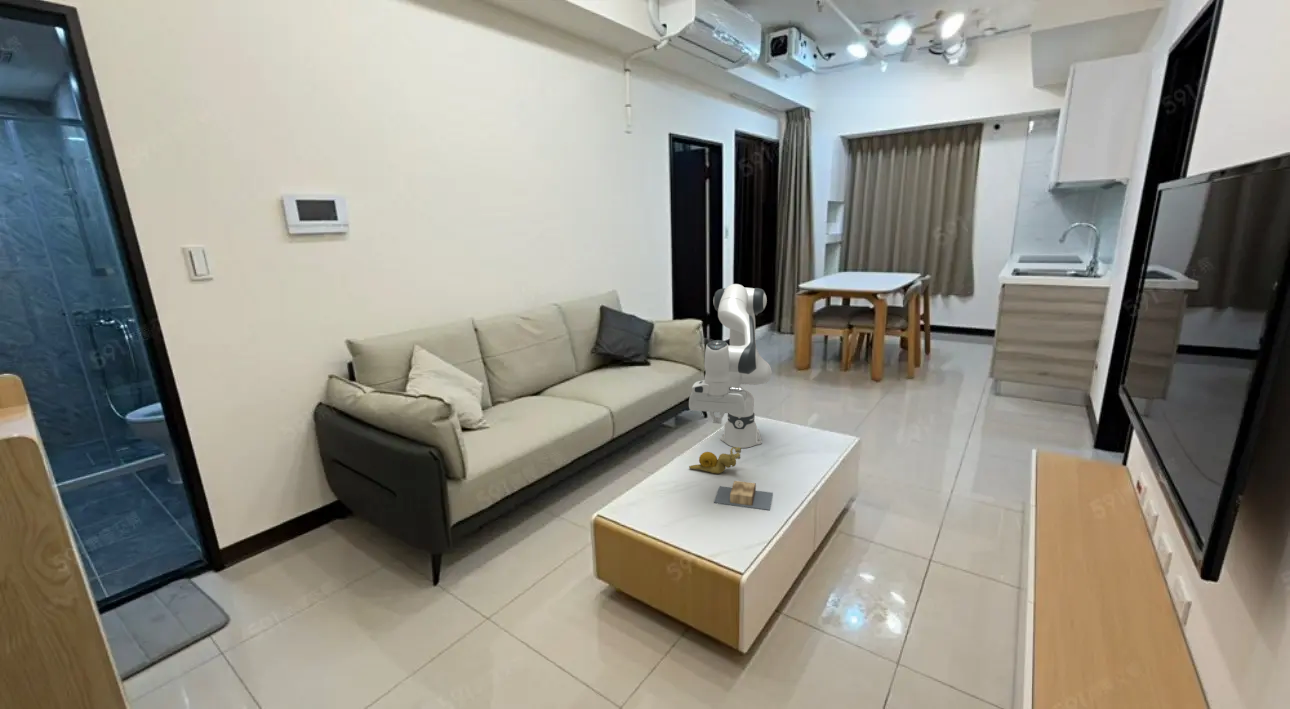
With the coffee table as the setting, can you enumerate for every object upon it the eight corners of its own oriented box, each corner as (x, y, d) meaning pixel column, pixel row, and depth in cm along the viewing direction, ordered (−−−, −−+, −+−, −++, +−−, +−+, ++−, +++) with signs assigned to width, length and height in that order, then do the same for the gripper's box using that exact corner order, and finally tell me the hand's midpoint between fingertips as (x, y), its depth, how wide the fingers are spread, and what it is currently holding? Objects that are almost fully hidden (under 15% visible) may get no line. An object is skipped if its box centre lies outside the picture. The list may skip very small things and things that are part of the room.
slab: (734, 480, 200) (755, 483, 198) (734, 489, 201) (755, 491, 199) (730, 493, 191) (752, 496, 189) (730, 502, 192) (752, 505, 190)
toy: (740, 477, 210) (740, 454, 208) (687, 473, 215) (687, 451, 212) (741, 468, 218) (741, 446, 215) (690, 464, 222) (690, 442, 220)
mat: (719, 486, 204) (719, 486, 204) (772, 493, 198) (772, 492, 198) (713, 503, 193) (713, 502, 193) (769, 510, 187) (769, 509, 187)
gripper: (747, 385, 187) (747, 422, 190) (691, 382, 193) (691, 417, 197) (745, 391, 181) (744, 428, 185) (687, 387, 187) (687, 423, 191)
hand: (717, 422), depth 191 cm, fingers closed
